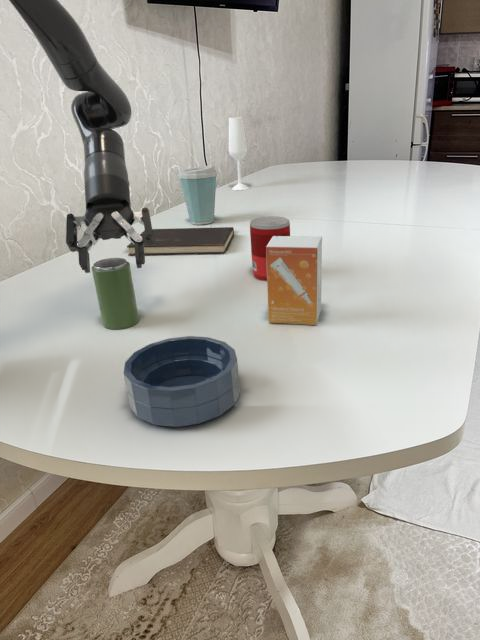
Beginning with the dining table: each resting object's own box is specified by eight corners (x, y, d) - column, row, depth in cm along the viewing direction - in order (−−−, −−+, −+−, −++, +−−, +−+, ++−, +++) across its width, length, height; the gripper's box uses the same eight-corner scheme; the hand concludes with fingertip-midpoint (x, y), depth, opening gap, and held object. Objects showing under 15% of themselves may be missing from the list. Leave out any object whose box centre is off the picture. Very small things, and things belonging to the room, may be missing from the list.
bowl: (128, 437, 60) (119, 397, 57) (134, 378, 72) (127, 342, 69) (246, 421, 61) (243, 381, 59) (232, 366, 73) (229, 331, 71)
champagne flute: (240, 190, 188) (235, 118, 177) (227, 189, 193) (222, 118, 182) (253, 187, 193) (249, 116, 182) (240, 186, 197) (235, 116, 186)
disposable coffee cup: (181, 227, 144) (175, 171, 138) (185, 218, 154) (179, 165, 147) (220, 225, 145) (215, 169, 138) (221, 216, 154) (217, 163, 147)
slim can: (101, 331, 86) (88, 270, 81) (104, 317, 91) (93, 258, 86) (138, 327, 87) (127, 266, 82) (139, 313, 92) (130, 255, 87)
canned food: (279, 283, 102) (277, 227, 97) (245, 277, 106) (241, 223, 101) (298, 271, 108) (297, 218, 103) (264, 266, 111) (262, 214, 106)
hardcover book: (224, 254, 121) (224, 244, 120) (128, 255, 123) (126, 246, 122) (234, 235, 135) (233, 226, 134) (147, 237, 137) (146, 228, 136)
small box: (268, 324, 85) (264, 246, 79) (275, 308, 91) (272, 234, 85) (317, 326, 84) (318, 246, 78) (322, 310, 89) (322, 235, 83)
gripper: (59, 175, 88) (62, 262, 83) (145, 169, 89) (153, 253, 85) (70, 201, 95) (74, 282, 90) (150, 195, 97) (158, 274, 92)
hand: (113, 268), depth 87 cm, fingers open, 8 cm apart
